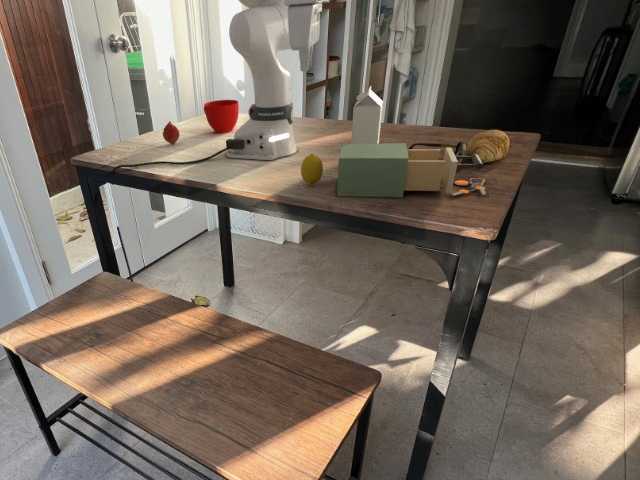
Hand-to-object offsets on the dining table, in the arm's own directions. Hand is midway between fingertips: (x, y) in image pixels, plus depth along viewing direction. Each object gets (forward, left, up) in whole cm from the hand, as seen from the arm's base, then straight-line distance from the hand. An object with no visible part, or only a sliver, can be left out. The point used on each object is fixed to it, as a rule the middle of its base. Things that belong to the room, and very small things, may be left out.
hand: (305, 70), depth 95 cm
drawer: (+30, +2, -26) cm, 40 cm away
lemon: (+1, +3, -27) cm, 27 cm away
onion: (-53, +42, -27) cm, 73 cm away
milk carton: (+14, +25, -27) cm, 40 cm away
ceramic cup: (-41, +62, -27) cm, 79 cm away
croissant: (+47, +29, -27) cm, 61 cm away
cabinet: (+16, +2, -27) cm, 31 cm away
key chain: (+39, +2, -27) cm, 47 cm away
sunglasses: (+32, +21, -27) cm, 47 cm away
